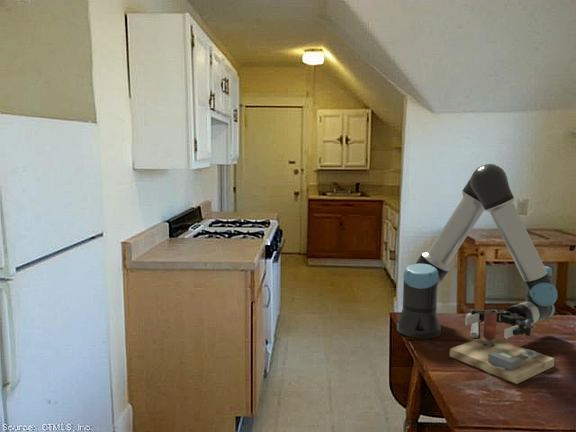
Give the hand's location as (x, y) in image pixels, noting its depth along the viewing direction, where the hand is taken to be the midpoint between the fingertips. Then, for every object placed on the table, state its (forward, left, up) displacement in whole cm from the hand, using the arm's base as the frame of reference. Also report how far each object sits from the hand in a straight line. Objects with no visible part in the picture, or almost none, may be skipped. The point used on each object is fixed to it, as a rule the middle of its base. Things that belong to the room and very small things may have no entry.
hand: (485, 327), depth 150 cm
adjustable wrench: (-18, +20, -10) cm, 29 cm away
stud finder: (+11, -7, -6) cm, 14 cm away
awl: (0, +3, -9) cm, 9 cm away
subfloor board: (+6, 0, -9) cm, 11 cm away
